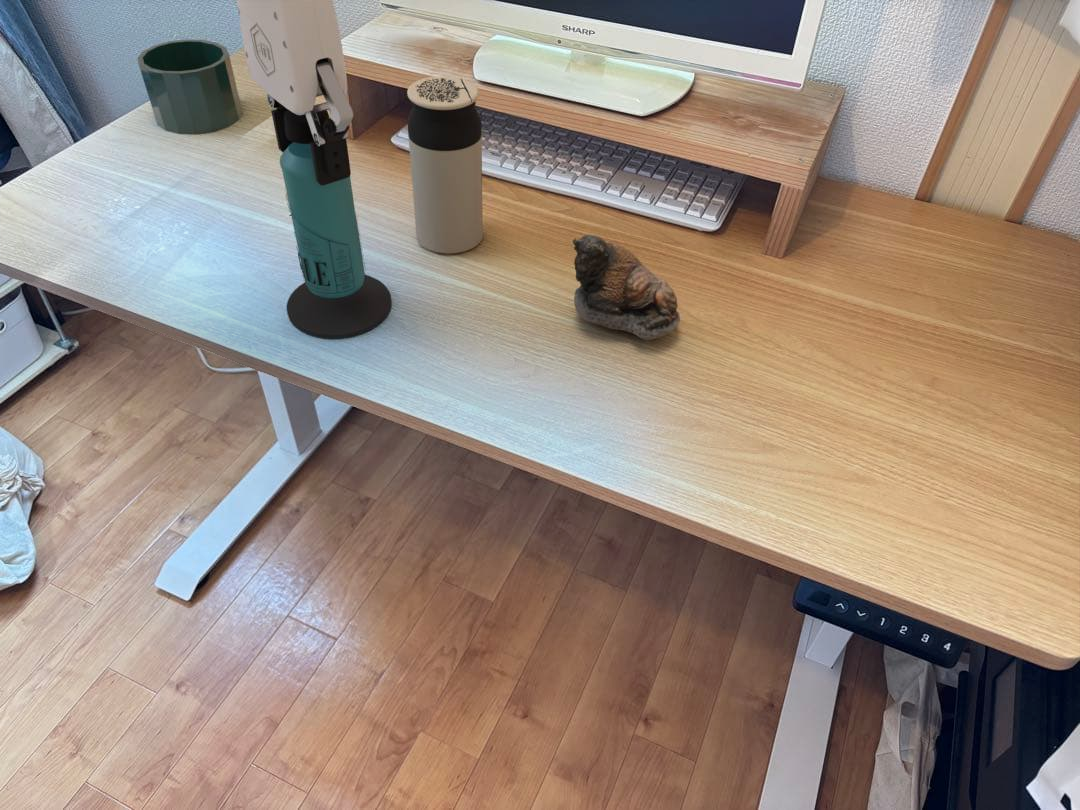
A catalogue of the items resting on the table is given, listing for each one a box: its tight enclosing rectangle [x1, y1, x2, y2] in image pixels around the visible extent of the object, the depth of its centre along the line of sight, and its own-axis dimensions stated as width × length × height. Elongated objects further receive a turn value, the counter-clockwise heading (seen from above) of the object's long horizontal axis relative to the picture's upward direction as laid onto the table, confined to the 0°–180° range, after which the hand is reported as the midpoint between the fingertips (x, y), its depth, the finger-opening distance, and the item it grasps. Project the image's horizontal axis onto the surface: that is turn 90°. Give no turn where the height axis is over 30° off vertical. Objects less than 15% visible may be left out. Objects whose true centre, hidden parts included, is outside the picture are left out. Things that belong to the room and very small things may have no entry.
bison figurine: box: [572, 234, 681, 341], centre depth 81 cm, size 12×7×10 cm, turn 75°
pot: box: [136, 38, 243, 135], centre depth 109 cm, size 11×11×10 cm
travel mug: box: [406, 75, 484, 254], centre depth 89 cm, size 8×8×18 cm
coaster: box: [286, 274, 393, 340], centre depth 85 cm, size 11×11×1 cm
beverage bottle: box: [279, 110, 367, 298], centre depth 77 cm, size 6×7×20 cm
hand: (314, 162), depth 74 cm, fingers closed on beverage bottle, 6 cm apart
